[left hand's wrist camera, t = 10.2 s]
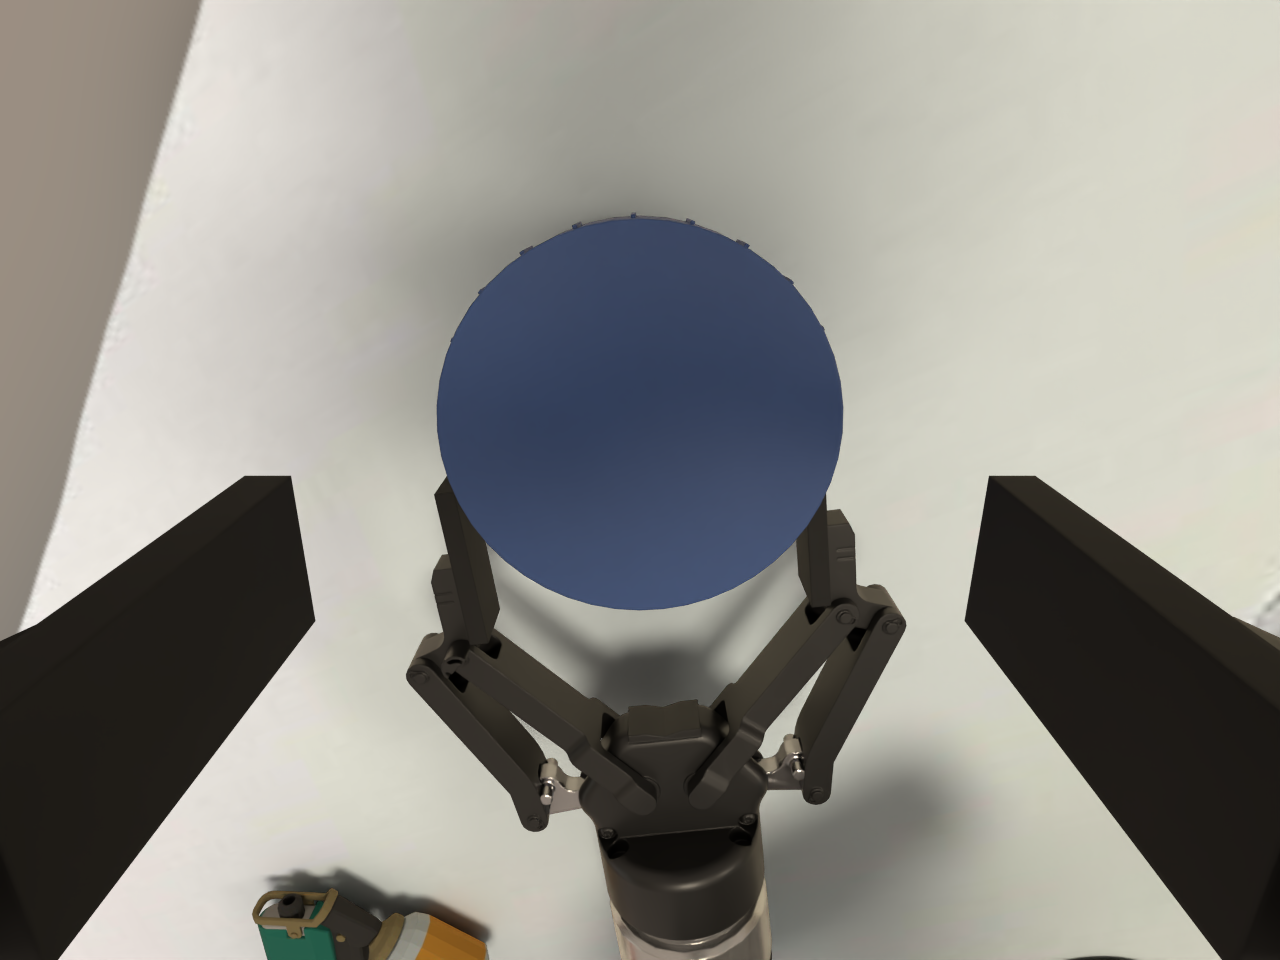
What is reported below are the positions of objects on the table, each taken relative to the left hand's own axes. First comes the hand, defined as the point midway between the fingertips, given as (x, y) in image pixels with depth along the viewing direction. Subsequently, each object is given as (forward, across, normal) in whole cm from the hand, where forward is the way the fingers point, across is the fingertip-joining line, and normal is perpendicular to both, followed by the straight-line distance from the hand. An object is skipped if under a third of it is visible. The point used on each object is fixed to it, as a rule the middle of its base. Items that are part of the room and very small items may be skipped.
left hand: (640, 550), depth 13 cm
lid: (+7, 0, 0) cm, 7 cm away
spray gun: (+23, +16, +40) cm, 49 cm away
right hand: (+16, 0, +4) cm, 16 cm away
